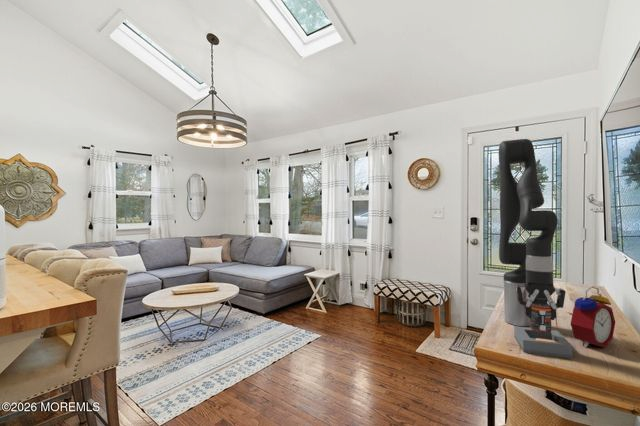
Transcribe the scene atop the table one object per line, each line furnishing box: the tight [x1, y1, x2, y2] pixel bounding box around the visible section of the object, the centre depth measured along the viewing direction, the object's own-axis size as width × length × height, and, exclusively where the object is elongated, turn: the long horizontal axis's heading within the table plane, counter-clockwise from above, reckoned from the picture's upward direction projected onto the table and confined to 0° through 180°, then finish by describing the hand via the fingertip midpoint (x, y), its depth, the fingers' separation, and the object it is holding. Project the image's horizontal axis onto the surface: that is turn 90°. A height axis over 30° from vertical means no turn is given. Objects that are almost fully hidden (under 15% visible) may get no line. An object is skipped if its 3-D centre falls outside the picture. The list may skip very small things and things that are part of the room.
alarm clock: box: [566, 286, 616, 349], centre depth 104 cm, size 15×9×20 cm, turn 114°
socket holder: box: [513, 325, 574, 359], centre depth 102 cm, size 13×13×4 cm
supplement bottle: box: [529, 298, 552, 333], centre depth 102 cm, size 6×6×11 cm
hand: (540, 318), depth 102 cm, fingers closed on supplement bottle, 6 cm apart
